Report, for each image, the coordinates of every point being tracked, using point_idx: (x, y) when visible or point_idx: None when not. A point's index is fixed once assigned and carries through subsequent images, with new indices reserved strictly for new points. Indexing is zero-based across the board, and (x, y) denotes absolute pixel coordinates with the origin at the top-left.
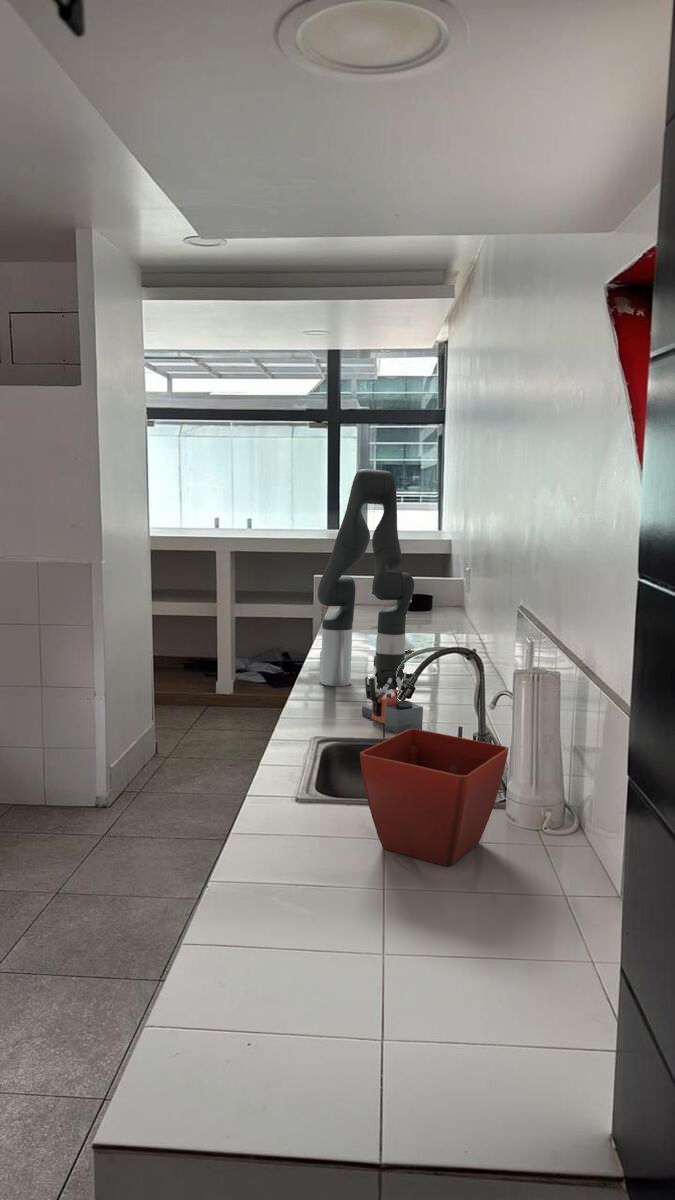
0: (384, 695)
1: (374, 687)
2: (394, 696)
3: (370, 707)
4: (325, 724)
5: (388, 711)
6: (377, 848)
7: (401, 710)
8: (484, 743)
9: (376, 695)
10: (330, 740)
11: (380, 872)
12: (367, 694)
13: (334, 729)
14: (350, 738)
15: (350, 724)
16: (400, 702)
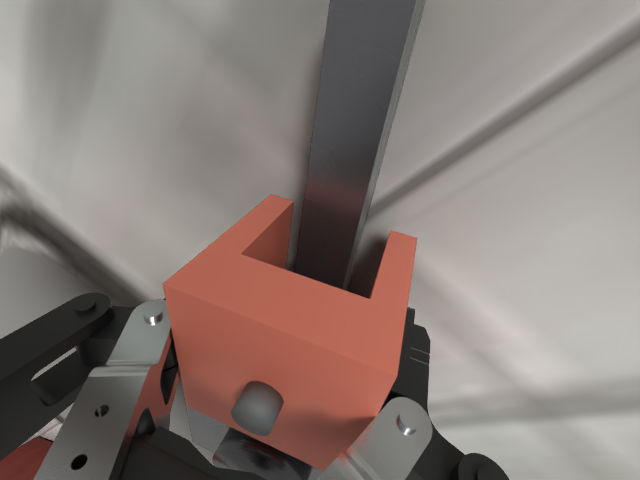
0: (269, 356)
1: (6, 449)
2: (320, 422)
3: (354, 91)
4: (46, 39)
5: None
6: (35, 433)
7: (213, 449)
8: None
9: (148, 350)
10: (36, 230)
11: (30, 439)
12: (48, 329)
13: (71, 146)
14: (97, 262)
15: (163, 136)
16: (235, 467)
